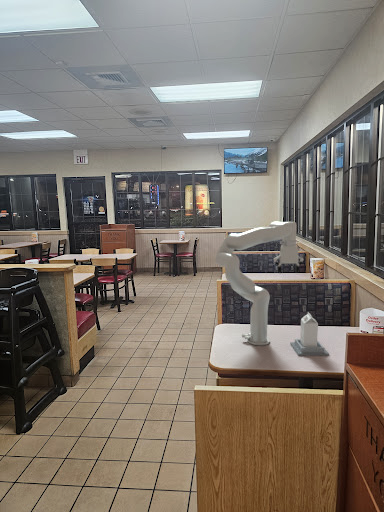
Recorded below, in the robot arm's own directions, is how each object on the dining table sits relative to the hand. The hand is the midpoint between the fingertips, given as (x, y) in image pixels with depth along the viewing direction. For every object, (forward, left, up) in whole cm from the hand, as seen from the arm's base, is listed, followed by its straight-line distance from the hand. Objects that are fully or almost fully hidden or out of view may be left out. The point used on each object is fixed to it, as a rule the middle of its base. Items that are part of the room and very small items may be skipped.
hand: (288, 272), depth 206 cm
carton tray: (+7, -20, -38) cm, 44 cm away
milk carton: (+7, -20, -38) cm, 43 cm away
